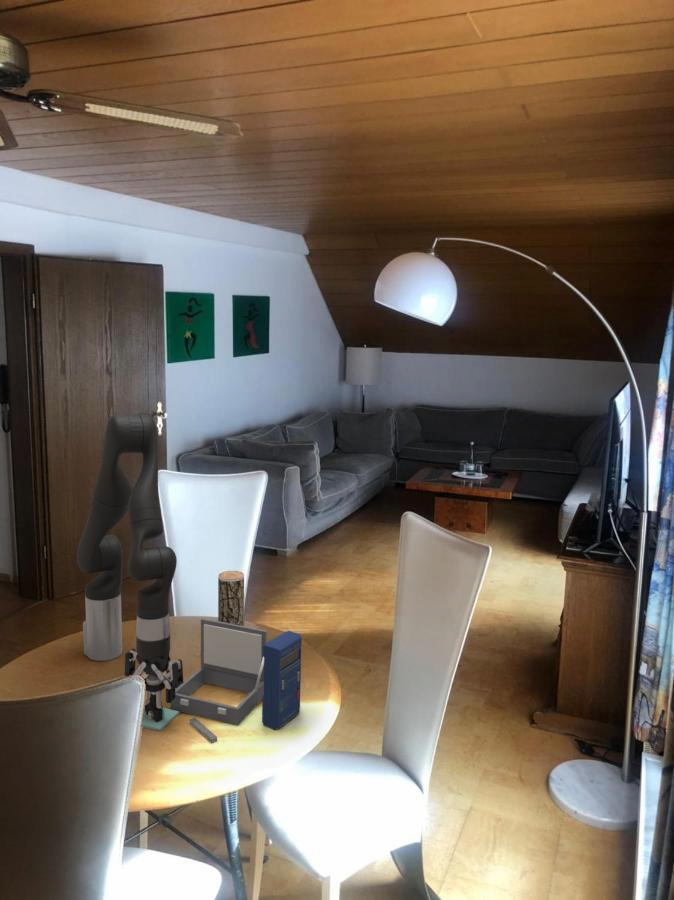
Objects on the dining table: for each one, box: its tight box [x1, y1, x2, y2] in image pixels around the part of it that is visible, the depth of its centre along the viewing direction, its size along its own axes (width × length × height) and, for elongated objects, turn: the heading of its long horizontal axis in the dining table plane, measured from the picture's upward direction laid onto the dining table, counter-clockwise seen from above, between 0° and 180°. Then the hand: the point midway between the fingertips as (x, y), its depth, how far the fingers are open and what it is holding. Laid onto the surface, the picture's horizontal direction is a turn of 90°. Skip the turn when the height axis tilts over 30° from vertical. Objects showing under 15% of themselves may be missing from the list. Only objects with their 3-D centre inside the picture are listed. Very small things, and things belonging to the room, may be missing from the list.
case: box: [169, 618, 268, 726], centre depth 181 cm, size 19×16×17 cm
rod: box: [188, 717, 218, 744], centre depth 169 cm, size 10×1×1 cm, turn 40°
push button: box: [143, 674, 166, 722], centre depth 174 cm, size 7×5×10 cm
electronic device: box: [261, 630, 303, 730], centre depth 174 cm, size 10×5×20 cm, turn 148°
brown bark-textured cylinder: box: [217, 570, 245, 626], centre depth 200 cm, size 7×7×25 cm
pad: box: [140, 707, 180, 732], centre depth 174 cm, size 8×8×1 cm
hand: (154, 697), depth 173 cm, fingers open, 8 cm apart
